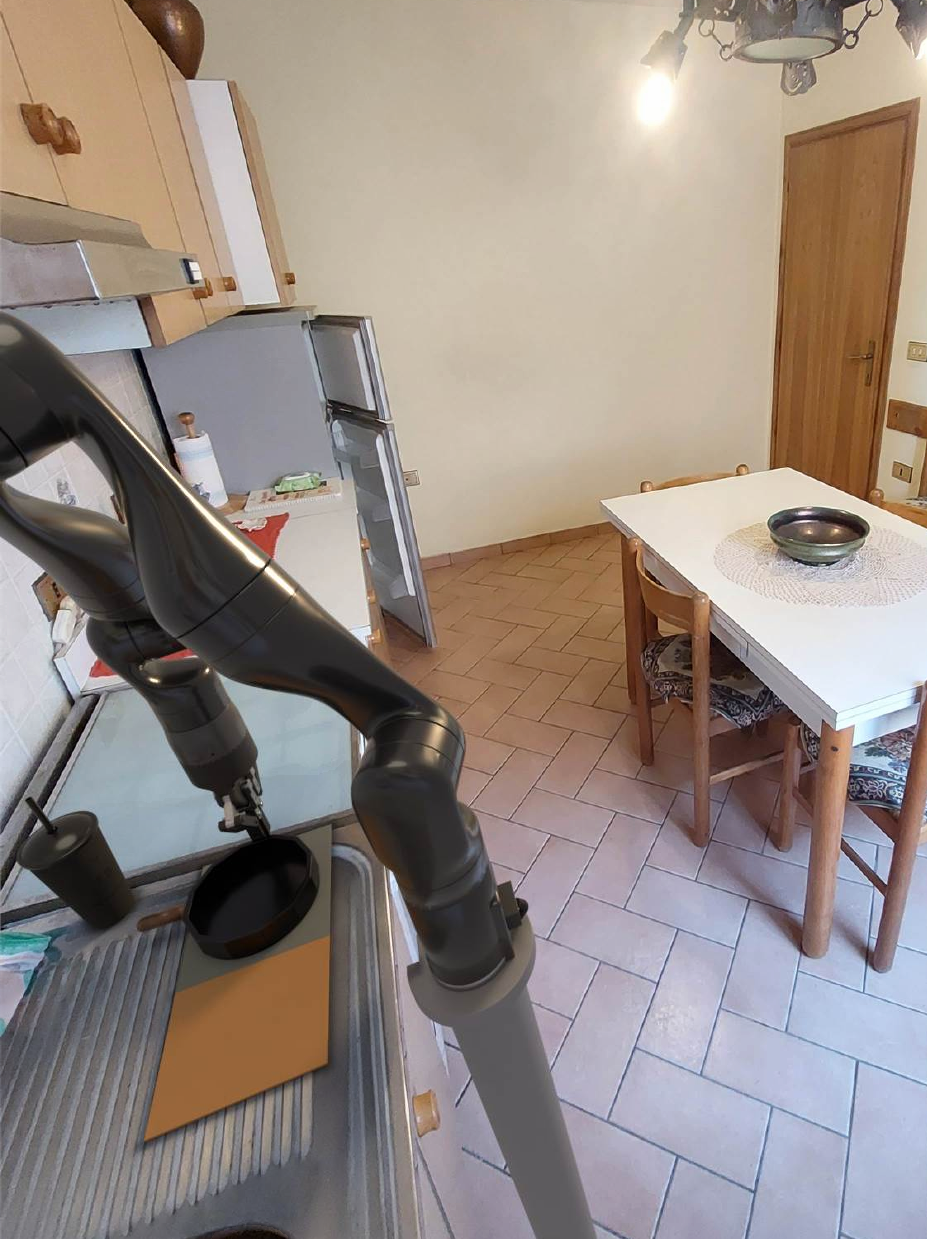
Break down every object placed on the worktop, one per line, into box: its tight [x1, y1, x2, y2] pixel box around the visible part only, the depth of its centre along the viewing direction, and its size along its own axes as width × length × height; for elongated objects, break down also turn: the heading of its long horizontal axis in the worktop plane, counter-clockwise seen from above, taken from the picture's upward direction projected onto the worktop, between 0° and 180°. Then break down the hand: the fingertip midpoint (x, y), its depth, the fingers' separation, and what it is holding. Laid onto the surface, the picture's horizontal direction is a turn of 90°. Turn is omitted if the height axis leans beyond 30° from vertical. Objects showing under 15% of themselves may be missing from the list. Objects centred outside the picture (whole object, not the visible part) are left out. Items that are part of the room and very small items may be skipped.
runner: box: [143, 823, 333, 1143], centre depth 75 cm, size 16×31×1 cm, turn 20°
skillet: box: [136, 833, 320, 960], centre depth 79 cm, size 19×14×4 cm
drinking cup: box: [16, 796, 136, 930], centre depth 77 cm, size 8×8×20 cm
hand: (262, 834), depth 87 cm, fingers closed
